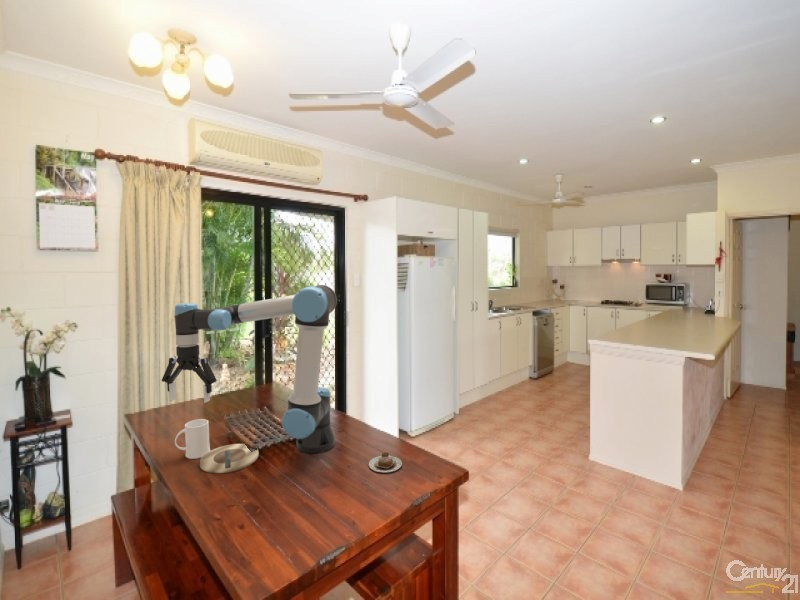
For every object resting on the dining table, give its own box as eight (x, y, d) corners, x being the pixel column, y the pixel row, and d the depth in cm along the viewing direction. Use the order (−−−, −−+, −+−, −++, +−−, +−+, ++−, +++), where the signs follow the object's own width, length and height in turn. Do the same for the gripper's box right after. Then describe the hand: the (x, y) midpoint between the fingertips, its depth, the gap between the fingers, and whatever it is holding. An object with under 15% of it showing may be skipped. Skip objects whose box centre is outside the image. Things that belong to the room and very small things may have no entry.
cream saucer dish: (267, 448, 155) (267, 430, 154) (242, 474, 135) (241, 454, 134) (219, 445, 157) (218, 428, 156) (187, 471, 137) (186, 451, 136)
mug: (176, 463, 142) (174, 431, 141) (174, 454, 150) (173, 423, 148) (212, 455, 149) (210, 424, 148) (208, 446, 156) (207, 417, 155)
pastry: (408, 464, 143) (408, 452, 143) (388, 479, 134) (388, 465, 133) (382, 455, 150) (382, 443, 150) (361, 468, 140) (361, 456, 140)
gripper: (225, 343, 148) (226, 398, 150) (163, 342, 151) (166, 395, 153) (213, 348, 141) (215, 405, 143) (149, 346, 143) (151, 402, 145)
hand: (190, 400), depth 148 cm, fingers open, 13 cm apart
